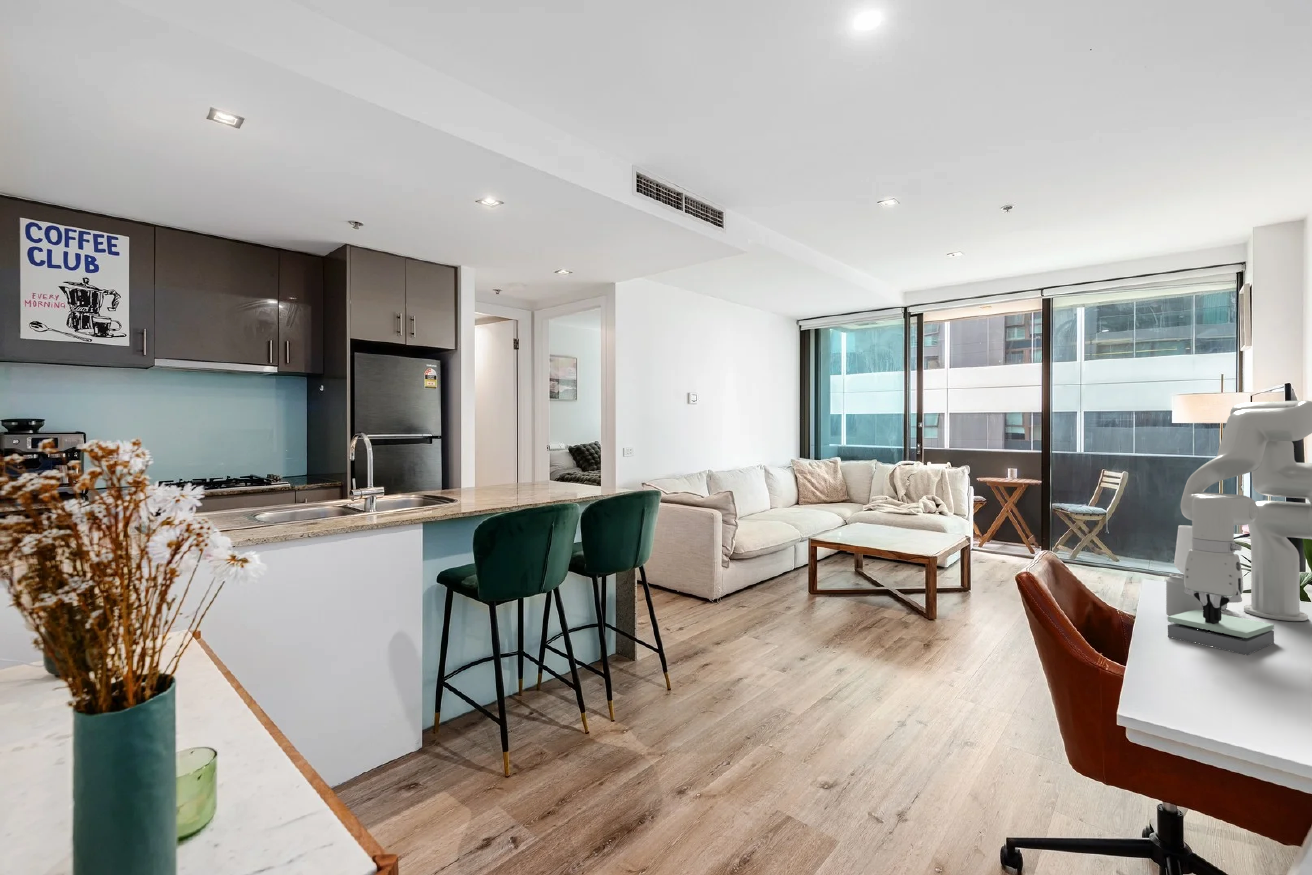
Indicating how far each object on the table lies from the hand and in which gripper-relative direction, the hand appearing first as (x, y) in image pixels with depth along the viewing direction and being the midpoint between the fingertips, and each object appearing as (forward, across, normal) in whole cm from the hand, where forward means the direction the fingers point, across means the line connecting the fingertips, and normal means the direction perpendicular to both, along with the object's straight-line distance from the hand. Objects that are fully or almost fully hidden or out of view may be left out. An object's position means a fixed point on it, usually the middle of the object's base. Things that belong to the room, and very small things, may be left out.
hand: (1212, 622), depth 151 cm
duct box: (+5, 0, -4) cm, 7 cm away
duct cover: (+1, 0, -4) cm, 5 cm away
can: (+5, +12, -17) cm, 21 cm away
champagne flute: (+4, +15, -29) cm, 33 cm away
